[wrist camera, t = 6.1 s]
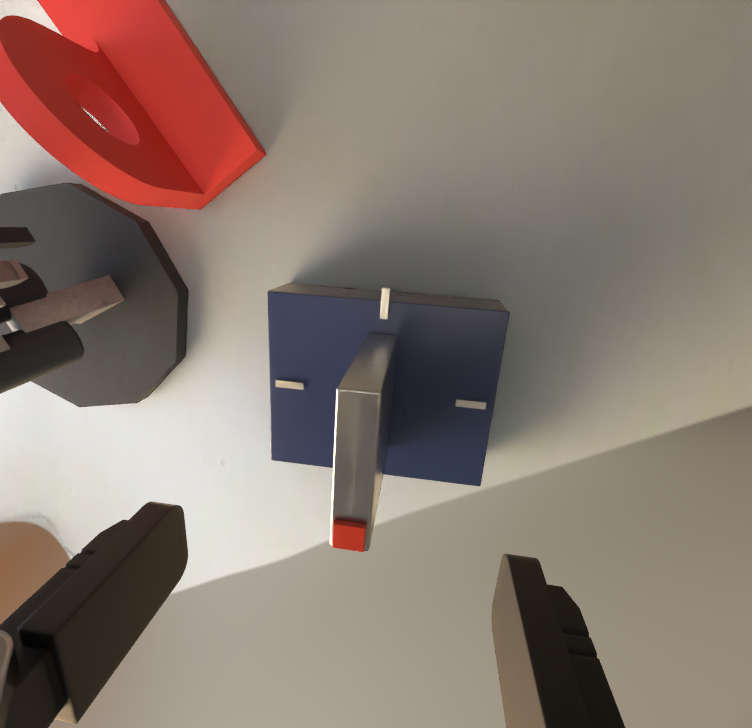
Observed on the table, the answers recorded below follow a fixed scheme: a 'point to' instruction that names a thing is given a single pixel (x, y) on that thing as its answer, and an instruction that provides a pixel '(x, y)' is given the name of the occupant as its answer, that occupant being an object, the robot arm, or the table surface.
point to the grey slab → (361, 441)
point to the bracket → (125, 101)
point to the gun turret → (85, 298)
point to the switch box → (411, 382)
